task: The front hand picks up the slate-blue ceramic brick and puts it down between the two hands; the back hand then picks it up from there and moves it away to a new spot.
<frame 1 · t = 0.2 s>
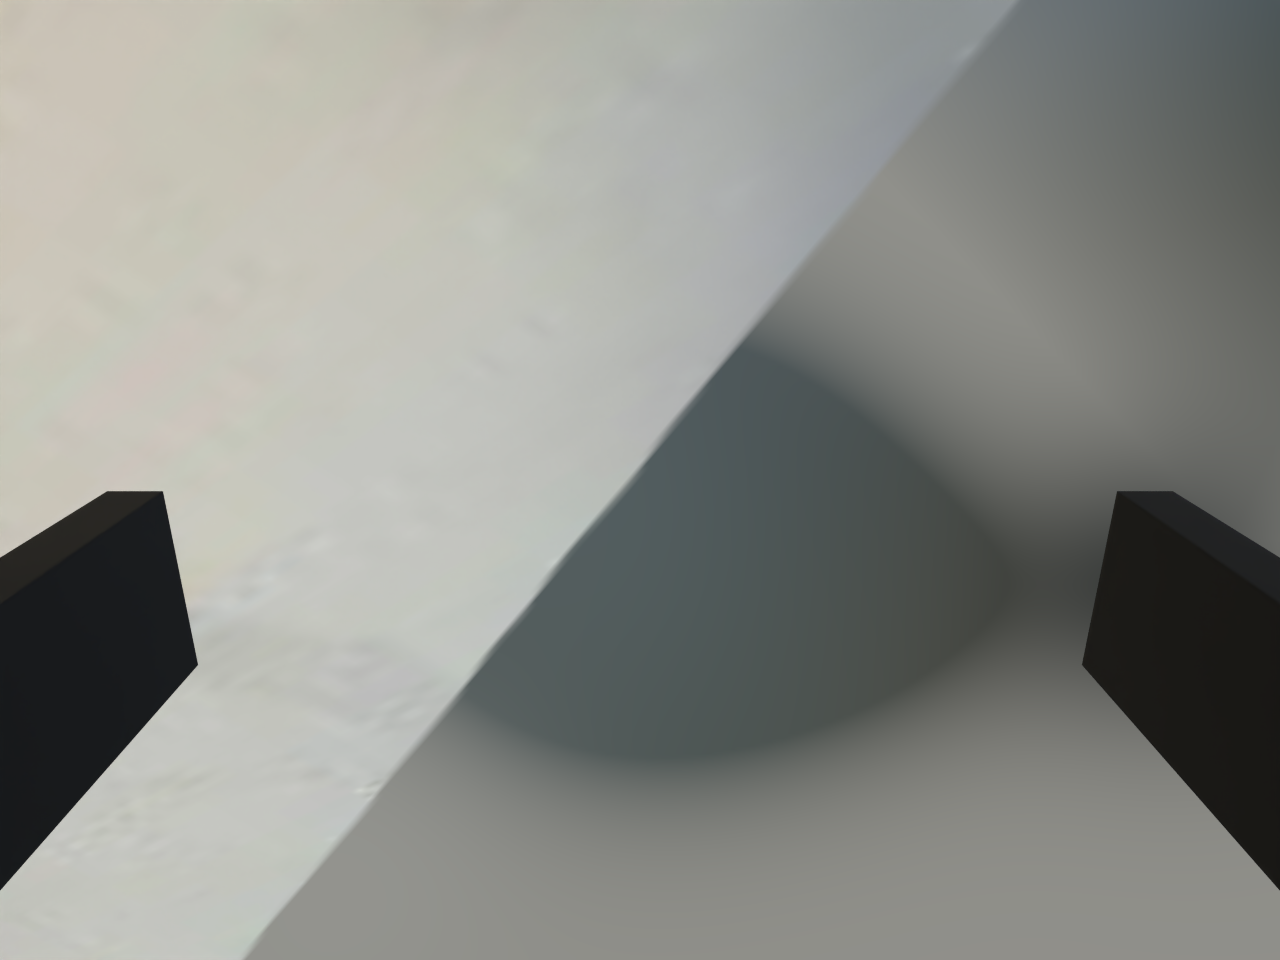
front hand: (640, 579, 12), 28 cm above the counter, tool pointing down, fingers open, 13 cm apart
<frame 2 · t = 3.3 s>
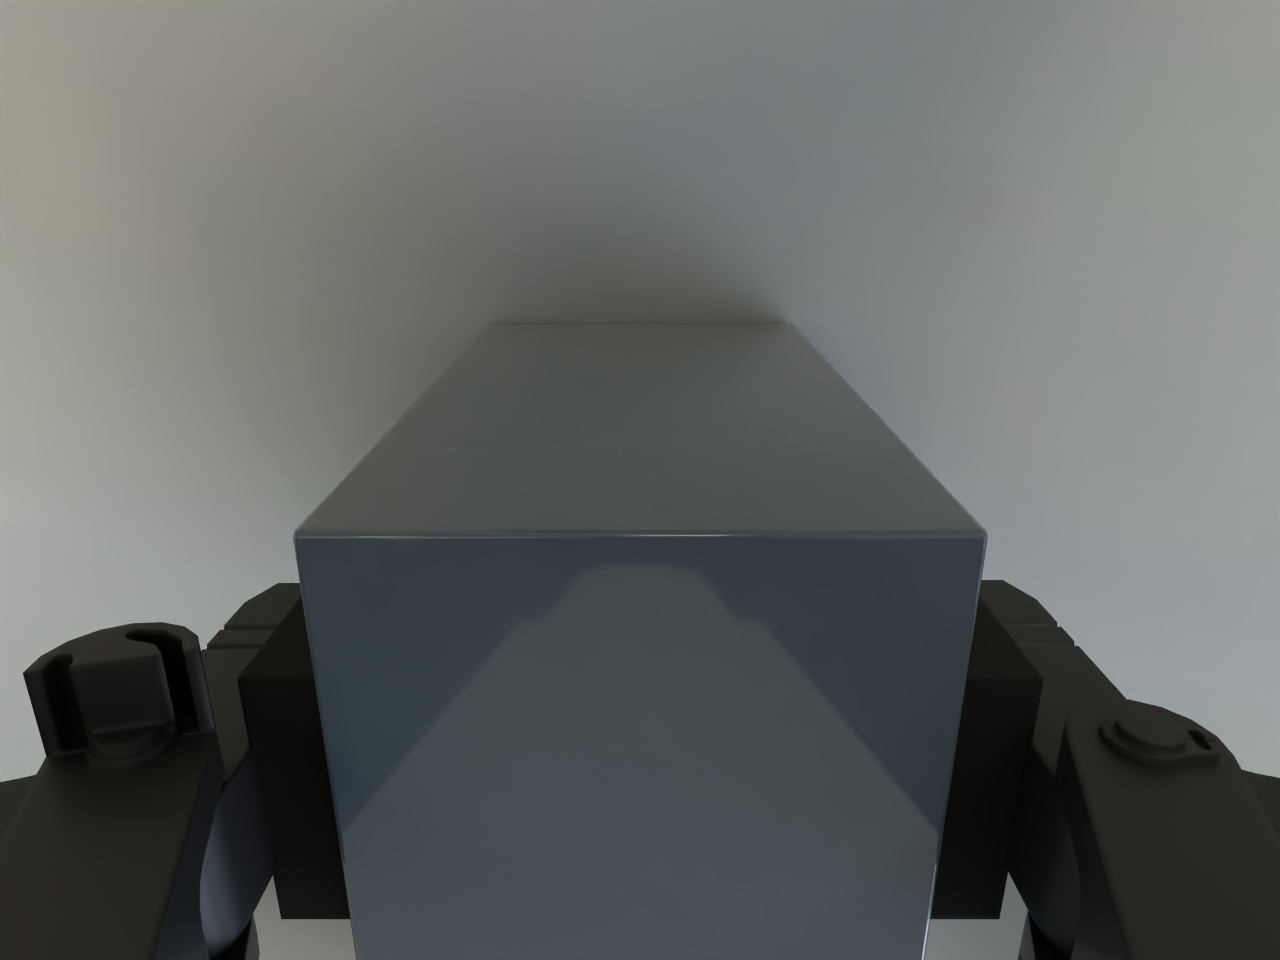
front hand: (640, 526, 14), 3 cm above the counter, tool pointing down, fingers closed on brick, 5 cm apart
brick: (640, 473, 16), on the counter, touching front hand
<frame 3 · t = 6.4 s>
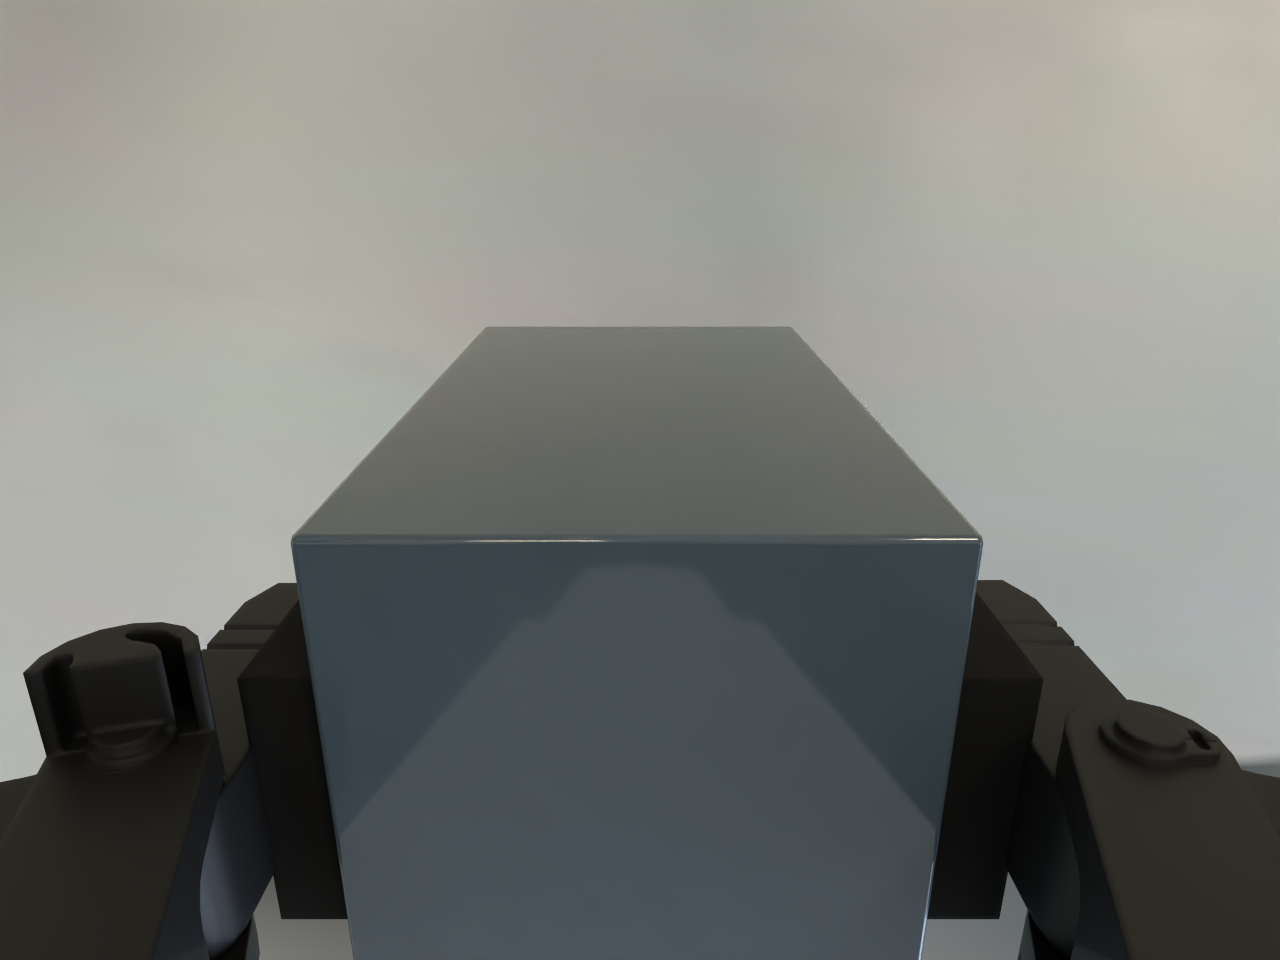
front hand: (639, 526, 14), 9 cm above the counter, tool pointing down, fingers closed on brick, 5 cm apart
brick: (638, 476, 16), point 7 cm above the counter, touching front hand
when the front hand's fingers open (4 cm above the counter, at t = 9.6 s): brick drops 2 cm, on the counter.
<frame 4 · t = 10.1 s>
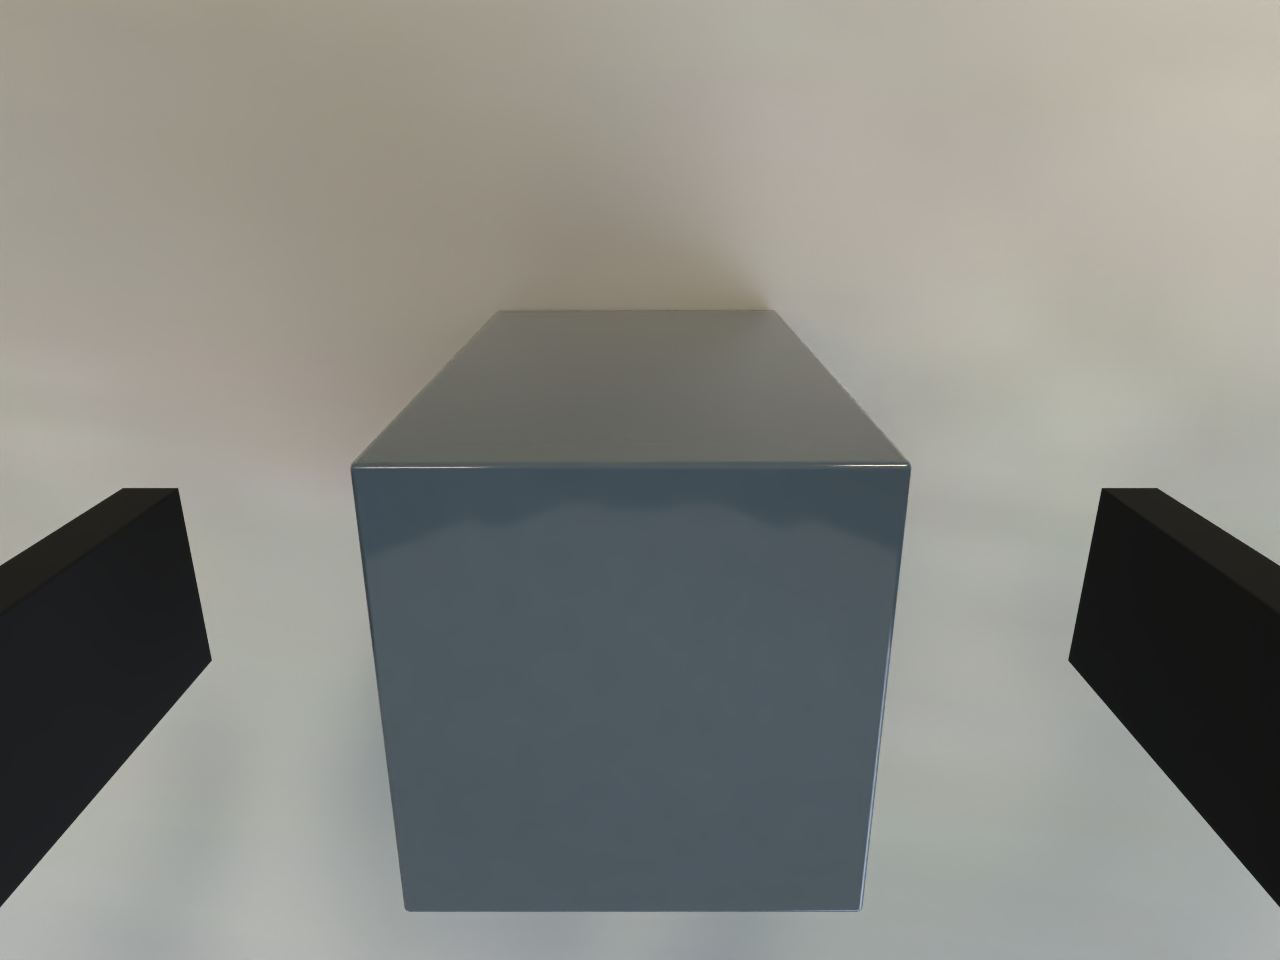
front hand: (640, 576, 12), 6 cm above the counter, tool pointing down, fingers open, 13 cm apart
brick: (636, 447, 18), on the counter
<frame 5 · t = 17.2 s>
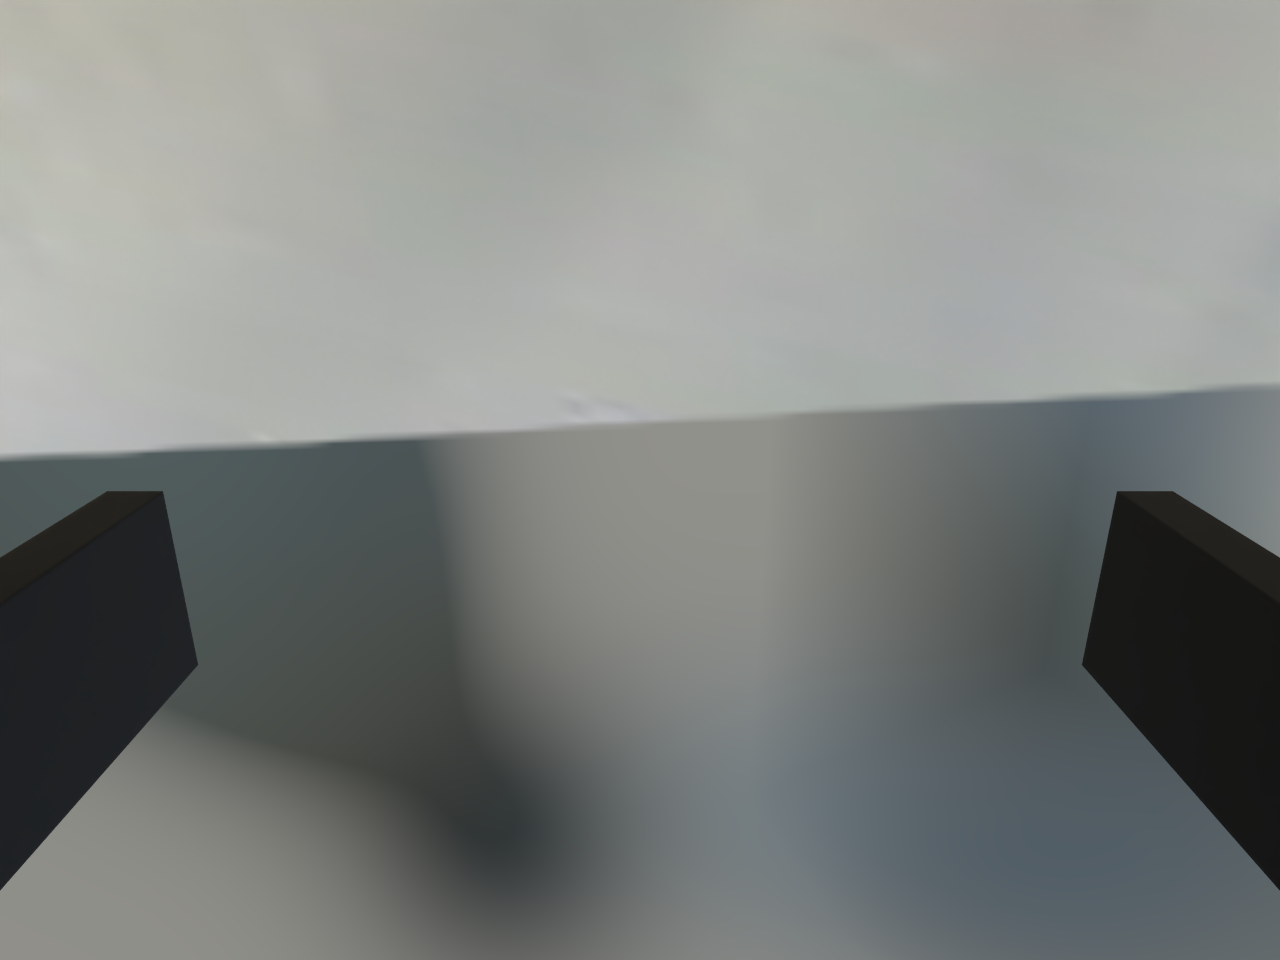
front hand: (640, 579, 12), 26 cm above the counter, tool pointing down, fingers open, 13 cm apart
when the back hand's fingers open (4 cm above the counter, at t = 24.2 s): brick drops 2 cm, on the counter.
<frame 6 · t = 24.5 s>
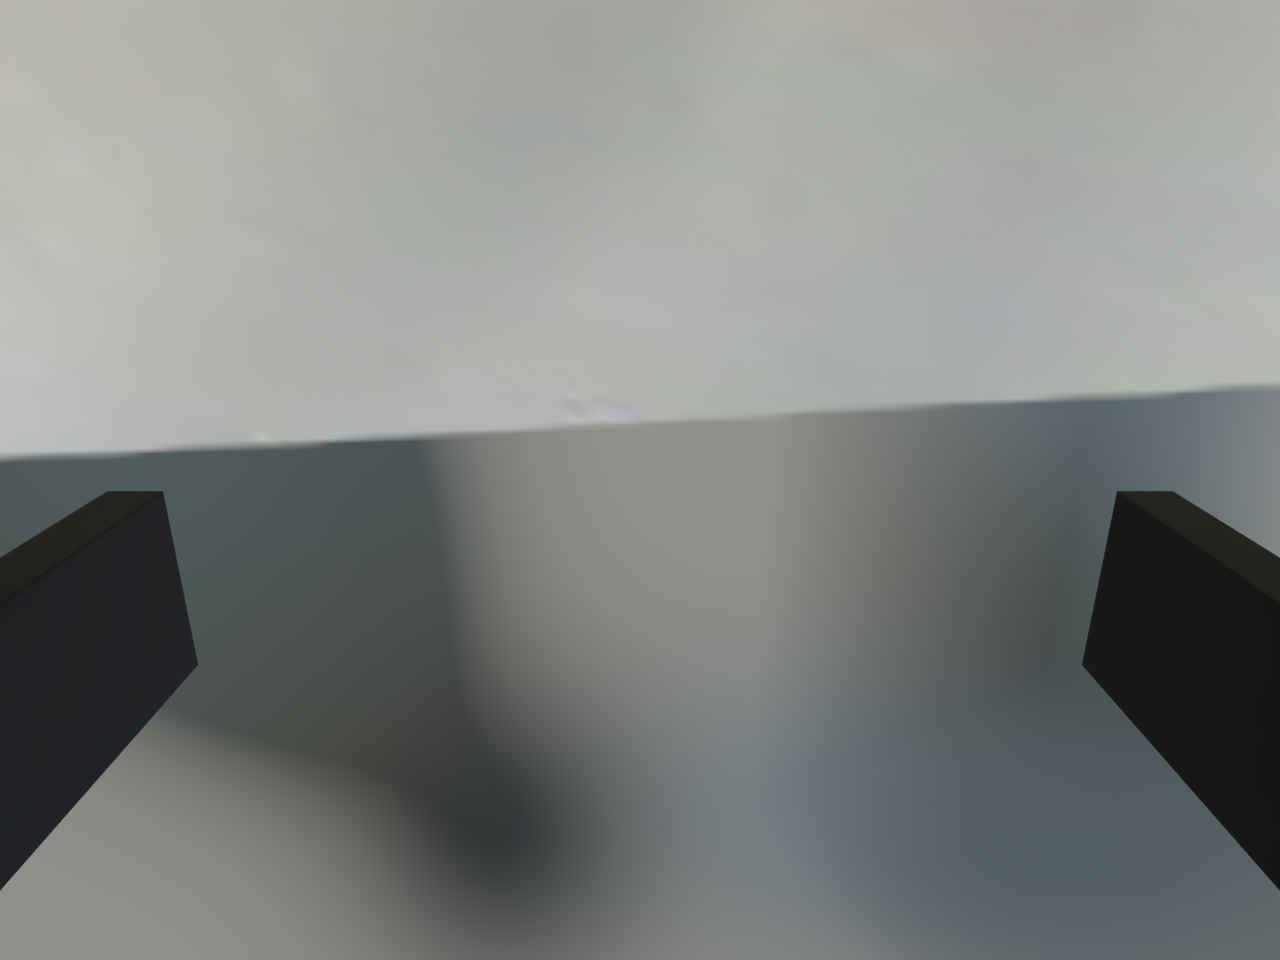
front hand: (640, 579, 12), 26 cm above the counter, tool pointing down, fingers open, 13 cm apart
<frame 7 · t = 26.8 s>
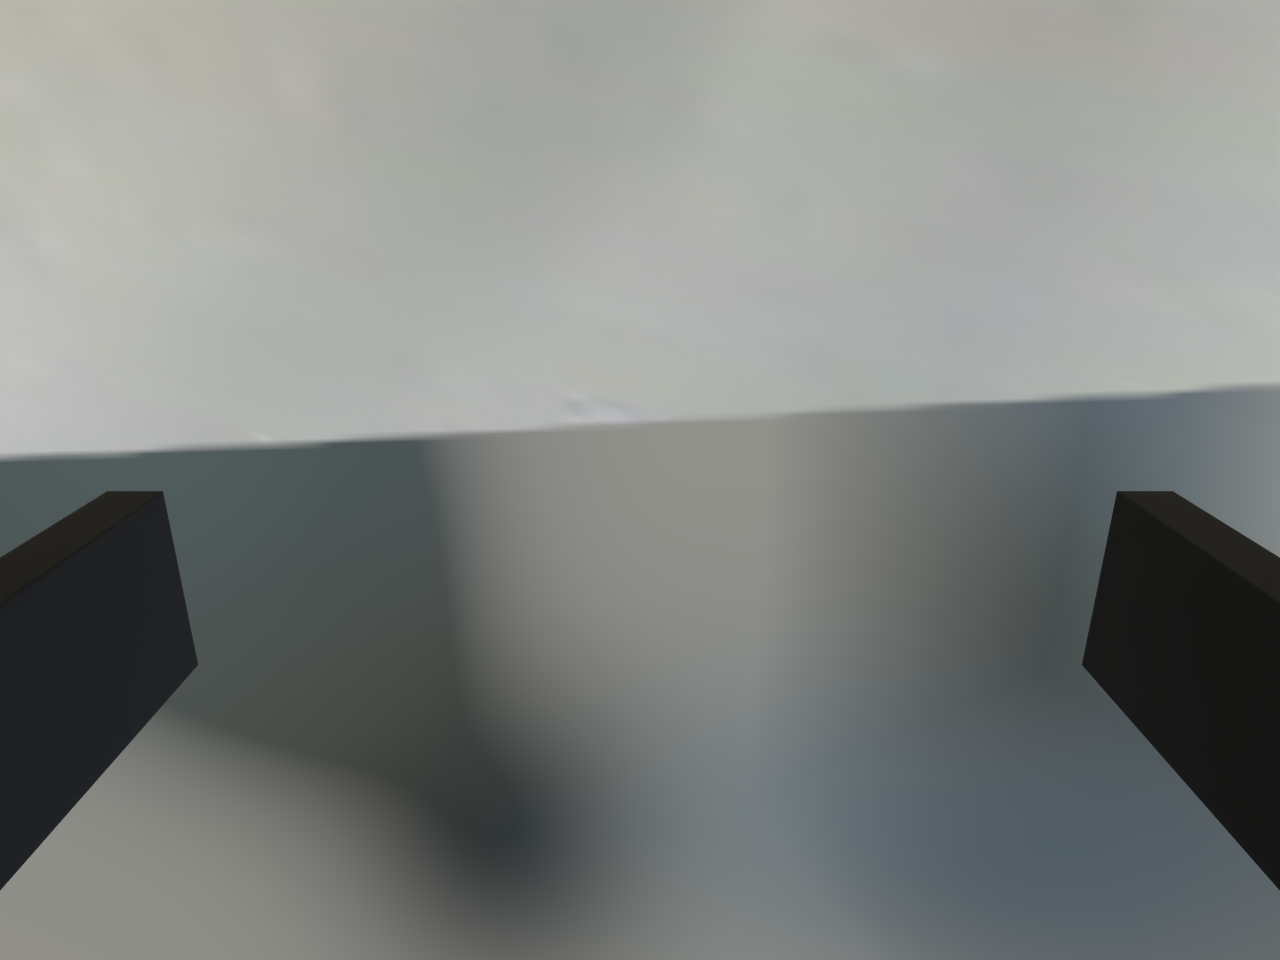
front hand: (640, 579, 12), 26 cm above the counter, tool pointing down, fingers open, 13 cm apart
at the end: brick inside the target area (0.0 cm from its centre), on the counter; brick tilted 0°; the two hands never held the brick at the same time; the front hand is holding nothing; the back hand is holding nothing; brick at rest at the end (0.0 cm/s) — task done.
